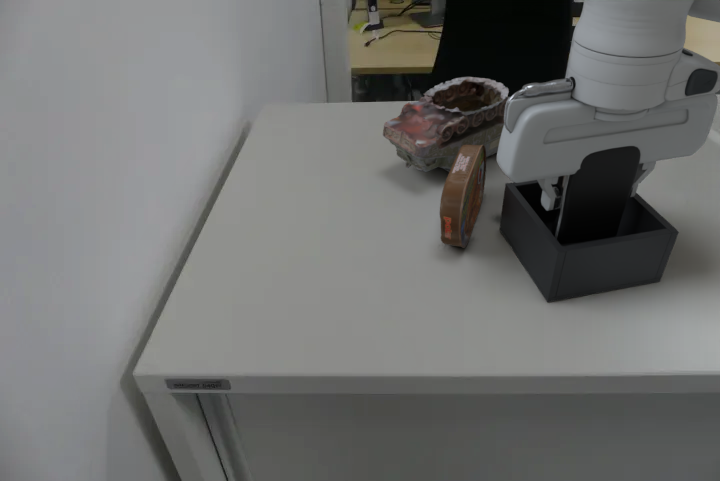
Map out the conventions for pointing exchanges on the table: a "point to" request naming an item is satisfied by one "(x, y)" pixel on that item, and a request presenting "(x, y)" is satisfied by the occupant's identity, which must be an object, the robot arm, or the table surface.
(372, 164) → the table surface
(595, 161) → the battery charger
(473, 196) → the tin
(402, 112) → the decorative box
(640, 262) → the open box
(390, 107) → the table surface
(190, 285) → the table surface
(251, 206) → the table surface
